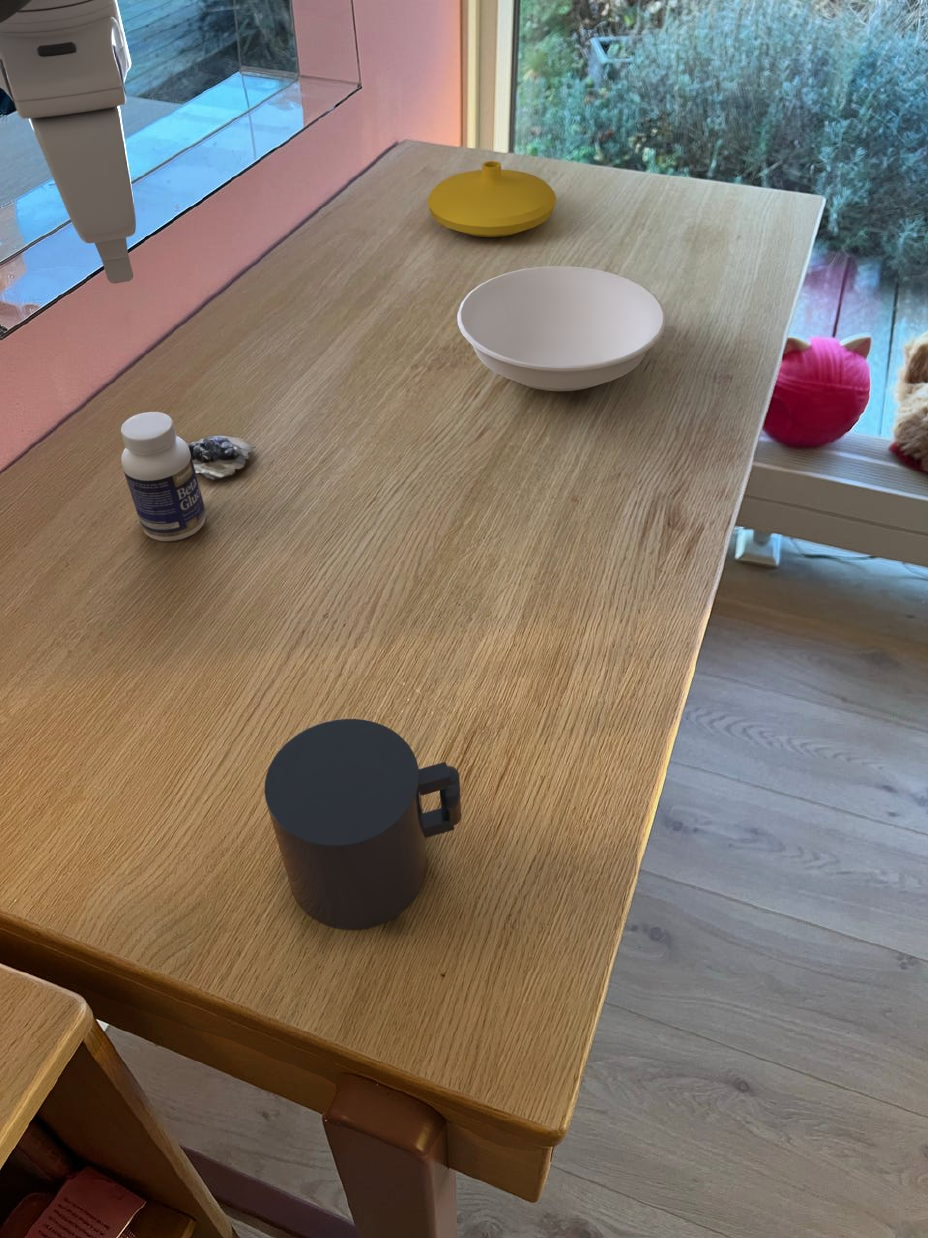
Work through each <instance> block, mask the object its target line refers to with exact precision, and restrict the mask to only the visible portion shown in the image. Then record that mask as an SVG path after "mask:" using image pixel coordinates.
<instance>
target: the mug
mask: <svg viewBox="0 0 928 1238" xmlns="http://www.w3.org/2000/svg"><path fill="white" fill-rule="evenodd" d="M265 775H266V776H265V780H264V799H265V803H266V806H267V810H268V814H269V816H270V820H271V824H272V827H273V830H274V834H275V837H276V841H277V844H278V849H279V852H280V855H281V857H282V862H283V866H284V869H285V872H286V875H287V876H286V877H287V879H288V883H289V886H290V889H291V892H292V895H293V897H294V899H295V902H296V903H297V904H298V906H299V907H300V909H302V910H303V911H304V912H305V914H307V915H308V916H309V917H311V918H312V920H315V921H317V922H319V923H320V924H322V925H325V926H327V927H331V928H333V929H340V930H345V931H347V930H348V931H358V930H366V929H370V928H375V927H379V926H380V925H383V924H385V923H387V922H390V921H392V920H394V919H395V918H397V917H398V916H399V915H401V914H402V913H403V912H404V911H405V910H407V909H408V908H409V907H410V905H411V904H412V903H413V902H414V901H415V900H416V898H417V897H418V896H419V894H420V892H421V891H422V890H421V889H422V888H423V886H424V884H425V881H426V878H427V874H428V854H427V853H428V852H427V843H426V841H427V840H426V839H427V838H431V837H434V836H438V835H441V834H446V833H449V832H452V831H454V830H455V826H457V825H458V824H459V823H460V822H461V821H462V801H461V800H462V799H461V782H460V772H459V770H458V769H457V768H456V767H454V766H452V765H448V764H447V762H446V761H443V762H439V763H435V764H432V765H427V766H425V767H422V768H419V764H418V760H417V757H416V754H415V753H414V751H413V750H412V748H411V746H410V745H409V744H408V742H407V741H406V740H405V739H404V738H403V737H402V736H400V734H399V733H397V732H395V731H394V730H393V729H391V728H389V727H387V726H385V725H383V724H381V723H377V722H375V721H372V720H366V719H359V718H339V719H333V720H328V721H324V722H321V723H318V724H317V723H316V724H315V725H312V726H310V727H308V728H306V729H304V730H302V731H301V732H298V734H296V735H294V736H293V737H292V738H290V739H289V740H288V741H287V742H286V743H285V744H284V745H282V747H281V748H280V749H279V750H278V751H277V753H276V754H275V756H274V757H273V759H272V761H271V763H270V764H269V766H268V769H267V772H266V774H265ZM437 792H439V803H440V804H439V805H440V807H439V808H435V809H433V810H429V811H426V812H425V811H423V801H422V796H425V795H429V794H433V793H437Z"/></svg>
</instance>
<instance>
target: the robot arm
mask: <svg viewBox="0 0 928 1238" xmlns="http://www.w3.org/2000/svg"><path fill="white" fill-rule="evenodd" d="M120 13H121V12H120V9H119V5H118V1H117V0H0V89H3V91H4V93H6V95H7V96H8V97H10V99H11V101H12V102H13V103H12V104H13V105H14V108H15V110H16V112H17V114H18V116H19V118H20V119H22V120H28V121H29V123H30V125H31V128H32V130H33V133H34V135H35V137H36V140H37V142H38V145H39V147H40V149H41V152H42V154H43V157H44V160H45V162H46V164H47V166H48V169H49V172H50V174H51V177H52V179H53V181H54V184H55V186H56V189H57V191H58V193H59V195H60V196H59V197H60V198H61V200H62V203H63V205H64V208H65V210H66V213H67V215H68V217H69V219H70V221H71V224H72V225H73V228H74V229H75V231H76V233H77V235H78V237H79V238H80V240H81V241H82V242H84V243H85V244H94V245H95V248H96V250H97V253H98V255H99V257H100V260H101V262H102V266H103V269H104V272H105V275H106V279H107V280H108V282H109V283H111V284H115V285H116V284H121V283H127V282H130V281H132V280H133V278H134V272H133V268H132V267H133V266H132V264H131V260H130V256H129V249H128V242H127V238H130V237H133V236H134V235H135V234H136V229H137V221H136V220H137V219H136V218H137V217H136V208H135V201H134V194H133V187H132V181H131V180H132V179H131V173H130V168H129V167H130V165H129V161H128V154H127V148H126V147H127V146H126V142H125V134H124V127H123V120H122V113H121V106H122V107H123V106H125V105H126V103H127V97H126V94H127V92H126V88H125V83H126V82H125V81H126V78H127V75H128V72H129V71H130V70H131V67H132V60H131V56H130V52H129V47H128V43H127V38H126V34H125V30H124V26H123V22H122V18H121V17H122V16H121V14H120Z"/></svg>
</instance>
